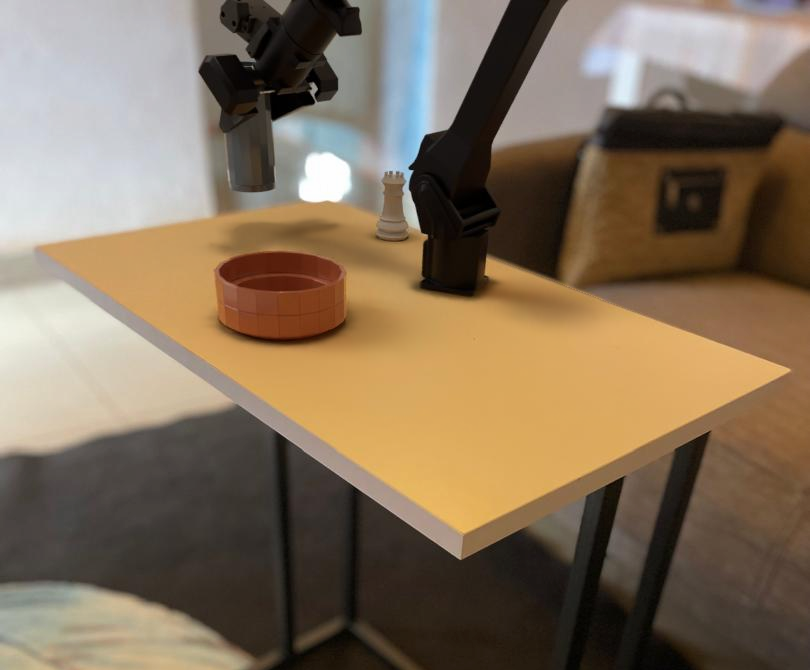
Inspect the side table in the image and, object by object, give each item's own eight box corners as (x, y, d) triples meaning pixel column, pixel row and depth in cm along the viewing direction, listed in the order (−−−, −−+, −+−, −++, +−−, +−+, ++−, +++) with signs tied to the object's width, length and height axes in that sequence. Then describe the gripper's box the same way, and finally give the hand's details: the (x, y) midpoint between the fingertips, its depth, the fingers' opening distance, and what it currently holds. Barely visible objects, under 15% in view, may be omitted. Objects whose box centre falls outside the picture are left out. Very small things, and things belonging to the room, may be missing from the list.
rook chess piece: (368, 236, 112) (369, 172, 107) (388, 229, 115) (390, 167, 110) (396, 243, 110) (398, 178, 105) (415, 236, 113) (418, 173, 108)
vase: (284, 185, 110) (277, 63, 102) (261, 194, 105) (251, 67, 97) (244, 180, 112) (235, 59, 104) (220, 189, 107) (208, 64, 99)
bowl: (366, 310, 90) (367, 263, 87) (308, 353, 80) (307, 301, 77) (260, 289, 93) (258, 243, 90) (193, 328, 83) (187, 278, 81)
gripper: (318, -32, 99) (257, 65, 111) (201, -33, 87) (145, 76, 98) (370, 51, 100) (303, 138, 112) (261, 61, 88) (198, 158, 99)
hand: (240, 126), depth 105 cm, fingers closed on vase, 6 cm apart
